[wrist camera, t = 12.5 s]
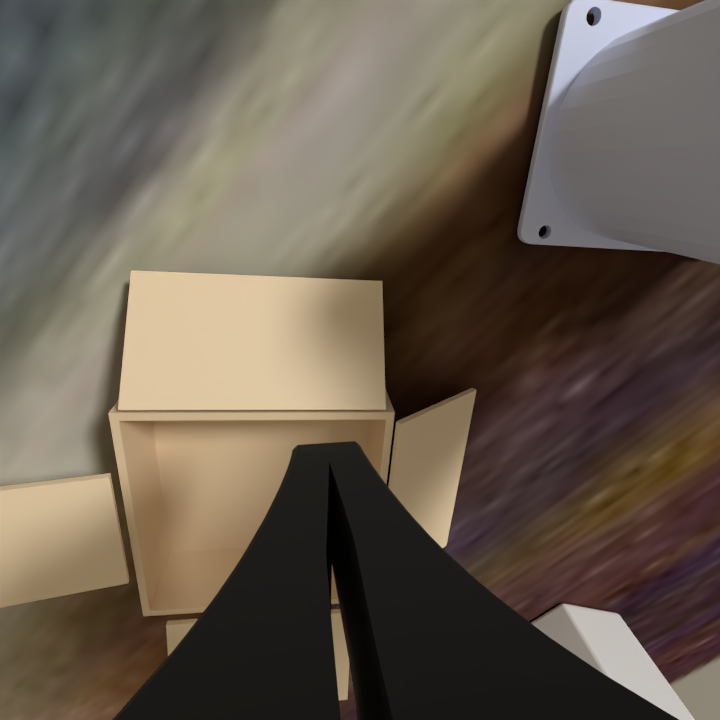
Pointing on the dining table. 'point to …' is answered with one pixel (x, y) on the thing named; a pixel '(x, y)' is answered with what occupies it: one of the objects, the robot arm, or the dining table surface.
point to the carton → (216, 487)
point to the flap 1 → (59, 539)
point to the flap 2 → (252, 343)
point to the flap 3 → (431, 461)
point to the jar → (611, 652)
